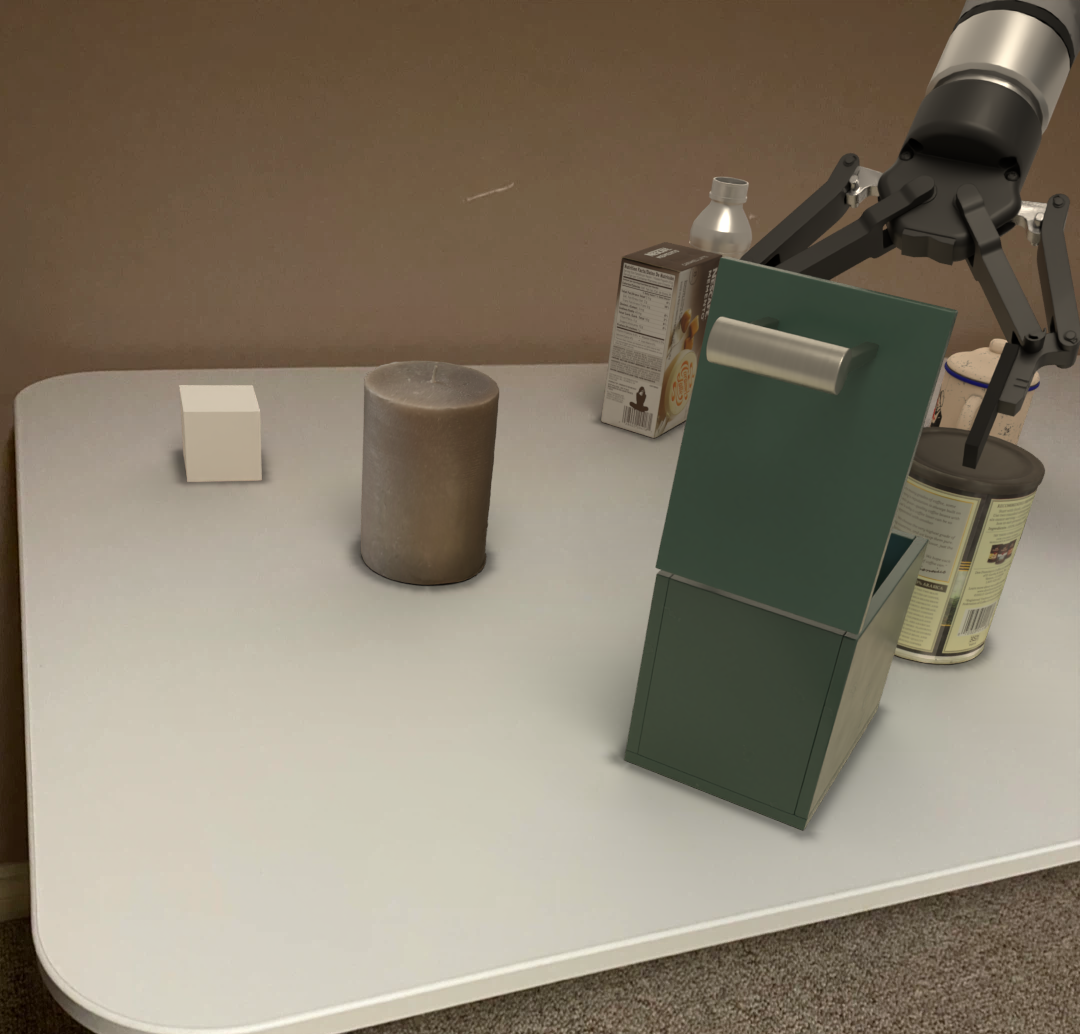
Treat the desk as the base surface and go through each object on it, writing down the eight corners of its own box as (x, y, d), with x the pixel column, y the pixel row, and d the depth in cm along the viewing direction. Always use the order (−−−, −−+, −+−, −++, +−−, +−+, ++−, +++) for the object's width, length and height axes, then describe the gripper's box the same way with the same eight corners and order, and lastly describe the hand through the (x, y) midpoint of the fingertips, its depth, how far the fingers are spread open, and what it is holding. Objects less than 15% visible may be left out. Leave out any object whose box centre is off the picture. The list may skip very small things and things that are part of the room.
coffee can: (870, 583, 101) (918, 414, 93) (998, 626, 97) (1059, 453, 89) (827, 633, 93) (875, 453, 85) (964, 681, 89) (1027, 497, 81)
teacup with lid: (935, 431, 132) (967, 320, 126) (1021, 455, 129) (1059, 342, 122) (901, 464, 123) (934, 346, 117) (993, 490, 120) (1032, 371, 113)
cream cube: (187, 482, 103) (183, 411, 100) (182, 453, 108) (178, 385, 104) (262, 480, 105) (260, 411, 101) (254, 452, 109) (252, 384, 106)
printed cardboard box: (641, 399, 131) (665, 239, 122) (696, 416, 128) (725, 254, 119) (598, 422, 124) (620, 254, 115) (655, 440, 122) (682, 270, 113)
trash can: (717, 655, 89) (753, 486, 81) (876, 711, 85) (929, 538, 77) (623, 760, 77) (656, 573, 70) (803, 831, 73) (857, 640, 66)
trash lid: (725, 256, 62) (660, 269, 55) (959, 310, 58) (919, 331, 51) (660, 564, 70) (596, 608, 63) (861, 631, 66) (816, 685, 59)
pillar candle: (510, 557, 98) (529, 368, 89) (432, 600, 91) (445, 399, 82) (412, 517, 102) (422, 332, 93) (330, 555, 95) (333, 360, 86)
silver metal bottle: (727, 385, 138) (763, 191, 126) (665, 375, 138) (697, 182, 127) (728, 366, 143) (764, 179, 132) (669, 358, 143) (700, 170, 132)
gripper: (1185, 200, 75) (1064, 513, 72) (790, 126, 84) (666, 403, 80) (1216, 110, 68) (1083, 452, 65) (781, 39, 77) (645, 339, 73)
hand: (852, 426), depth 73 cm, fingers open, 13 cm apart
